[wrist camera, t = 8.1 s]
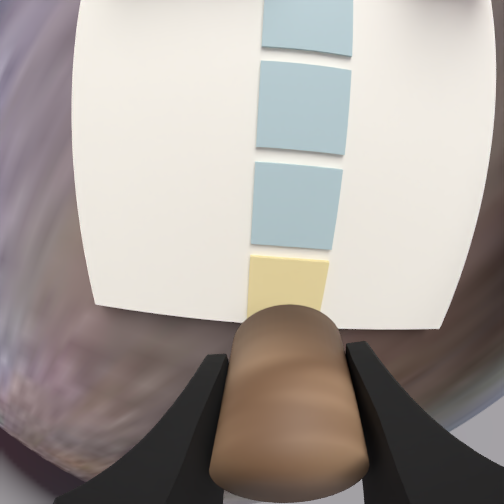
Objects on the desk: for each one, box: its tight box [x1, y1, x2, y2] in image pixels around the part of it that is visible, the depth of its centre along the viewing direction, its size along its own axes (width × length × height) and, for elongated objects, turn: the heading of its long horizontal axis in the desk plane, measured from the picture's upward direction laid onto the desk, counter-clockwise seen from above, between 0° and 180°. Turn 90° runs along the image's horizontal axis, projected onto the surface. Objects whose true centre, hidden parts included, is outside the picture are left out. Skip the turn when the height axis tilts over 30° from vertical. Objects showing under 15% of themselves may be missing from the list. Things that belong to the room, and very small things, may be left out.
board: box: [72, 0, 496, 329], centre depth 9 cm, size 19×25×4 cm
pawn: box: [209, 304, 369, 503], centre depth 8 cm, size 4×4×5 cm
